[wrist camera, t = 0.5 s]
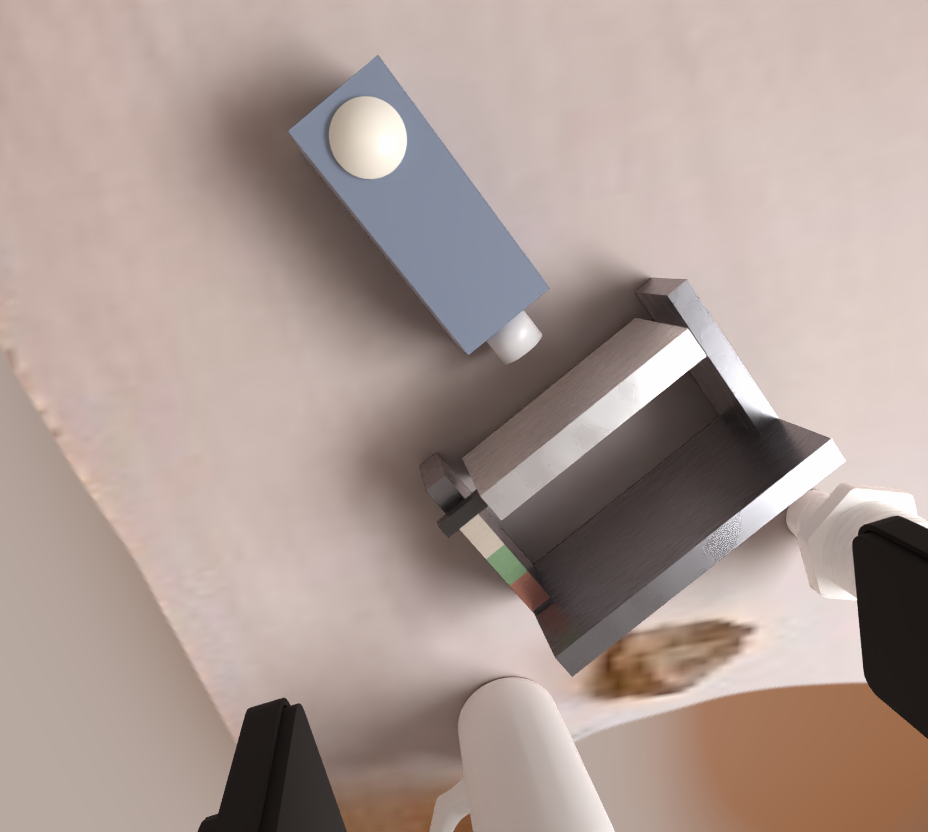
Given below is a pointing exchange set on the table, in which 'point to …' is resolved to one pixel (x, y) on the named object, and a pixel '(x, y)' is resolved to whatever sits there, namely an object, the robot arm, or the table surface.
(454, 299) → the block
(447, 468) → the gauge frame
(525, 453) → the anvil plate
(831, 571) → the pipe fitting
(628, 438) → the table surface
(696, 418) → the table surface
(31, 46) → the table surface
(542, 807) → the mug
